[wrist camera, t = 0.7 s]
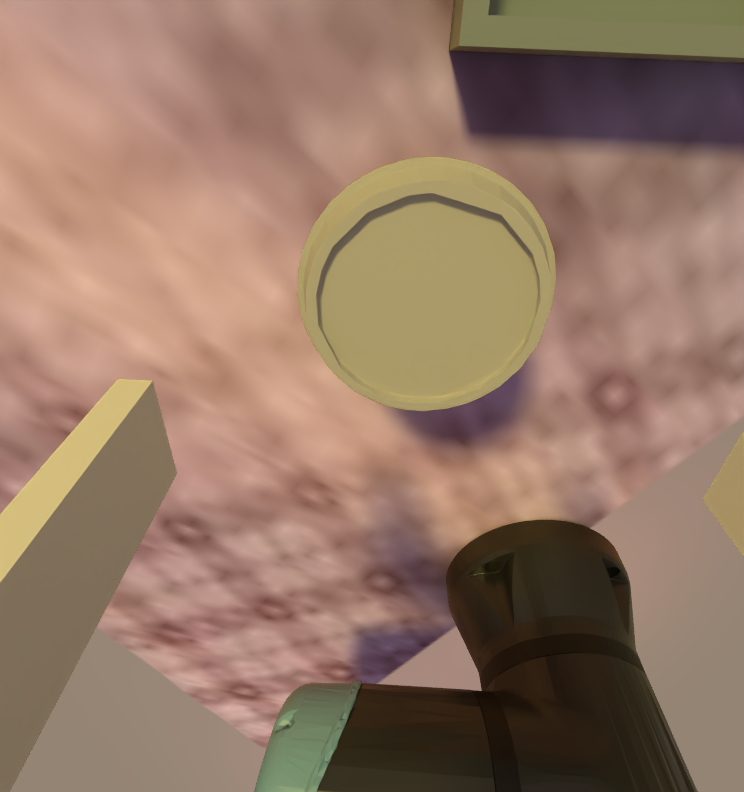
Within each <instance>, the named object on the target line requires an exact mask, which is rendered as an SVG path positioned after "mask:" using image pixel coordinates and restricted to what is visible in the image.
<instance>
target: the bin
mask: <svg viewBox="0 0 744 792" xmlns="http://www.w3.org/2000/svg"><path fill="white" fill-rule="evenodd" d="M449 51H467V52H490V53H514V54H537V55H561V56H584V57H608V58H632V59H655V60H679V61H702V62H726V63H744V0H454V4H453V14H452V24H451V34H450V44H449Z"/></svg>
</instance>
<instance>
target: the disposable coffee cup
mask: <svg viewBox="0 0 744 792" xmlns="http://www.w3.org/2000/svg"><path fill="white" fill-rule="evenodd" d="M555 284H556V271H555V255H554V250H553V247H552V244H551V241H550V238H549V235H548V232H547V229H546V226H545V224H544V222H543V221H542V219H541V218H540V216H539V214H538V213H537V211H536V210H535V208H534V206H533V205H532V203H531V202H530V201H529V200H528V199H527V198H526V197H525V196H524V195H523V194H522V193H521V192H520V191H519V190H518V189H517V188H516V187H515V186H514V185H513V184H512V183H510V182H509V181H507V180H506V179H504V178H502V177H501V176H499V175H498V174H496V173H494V172H493V171H491V170H489V169H486V168H484V167H481V166H479V165H476V164H473V163H471V162H467V161H462V160H457V159H452V158H448V157H420V158H410V159H406V160H403V161H399V162H396V163H393V164H389V165H386V166H383V167H379V168H377V169H375V170H373V171H372V172H370V173H368V174H366V175H365V176H363V177H361V178H359V179H358V180H356V181H354V182H353V183H351V184H350V185H349V186H348V187H347V188H346V189H344V190H343V191H342V192H341V193H340V194H339V195H337V196H336V197H335V198H334V199H333V200H332V201H331V202H330V203H329V204H328V206H327V207H326V208H325V210H324V211H323V213H322V214H321V215H320V217H319V218H318V220H317V221H316V223H315V224H314V226H313V228H312V230H311V232H310V235H309V237H308V239H307V241H306V244H305V246H304V248H303V252H302V257H301V261H300V265H299V270H298V292H297V295H298V301H299V306H300V312H301V317H302V320H303V323H304V326H305V328H306V331H307V334H308V336H309V337H310V339H311V341H312V343H313V345H314V346H315V348H316V350H317V351H318V353H319V354H320V355H321V357H322V358H323V360H324V361H325V363H326V365H327V366H328V367H329V368H330V369H331V370H332V371H333V373H334V374H335V375H336V376H337V377H338V378H339V379H340V380H341V381H343V382H344V383H345V384H346V385H348V386H349V387H350V388H351V389H352V390H354V391H355V392H357V393H359V394H361V395H363V396H365V397H367V398H369V399H371V400H373V401H376V402H378V403H380V404H383V405H385V406H390V407H394V408H398V409H404V410H415V411H429V410H439V409H448V408H452V407H455V406H459V405H463V404H466V403H469V402H471V401H474V400H476V399H478V398H481V397H482V396H484V395H486V394H488V393H489V392H491V391H493V390H495V389H496V388H498V387H500V386H501V385H502V384H503V383H504V382H505V381H507V380H508V379H509V378H510V377H511V376H512V375H513V374H515V373H516V372H517V371H518V370H519V369H520V368H521V367H522V365H523V364H524V363H525V361H526V360H527V358H528V357H529V356H530V354H531V353H532V351H533V350H534V349H535V347H536V346H537V345H538V343H539V340H540V337H541V335H542V332H543V329H544V326H545V323H546V321H547V318H548V315H549V313H550V310H551V308H552V302H553V296H554V290H555Z"/></svg>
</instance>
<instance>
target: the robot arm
mask: <svg viewBox="0 0 744 792" xmlns="http://www.w3.org/2000/svg"><path fill="white" fill-rule="evenodd" d="M176 474H177V472H176V468H175V464H174V460H173V456H172V452H171V449H170V445H169V441H168V437H167V433H166V429H165V426H164V422H163V418H162V414H161V410H160V406H159V403H158V399H157V395H156V391H155V387H154V383H153V381H148V380H127V379H118V380H117V381H116V382H115V383H114V384H113V385H112V386H111V388H110V389H109V390H108V391H107V392H106V393H105V395H104V396H103V397H102V398H101V399H100V400H99V401H98V403H97V404H96V405H95V406H94V407H93V408H92V409H91V411H90V412H89V413H88V414H87V415H86V416H85V418H84V419H83V420H82V421H81V422H80V423H79V424H78V426H77V427H76V428H75V429H74V430H73V431H72V432H71V434H70V435H69V436H68V437H67V438H66V439H65V441H64V442H63V443H62V444H61V445H60V446H59V447H58V449H57V450H56V451H55V452H54V453H53V454H52V455H51V457H50V458H49V459H48V460H47V461H46V462H45V464H44V465H43V466H42V467H41V468H40V469H39V470H38V472H37V473H36V474H35V475H34V476H33V477H32V478H31V480H30V481H29V482H28V483H27V484H26V485H25V486H24V488H23V489H22V490H21V491H20V492H19V493H18V495H17V496H16V497H15V498H14V499H13V500H12V501H11V503H10V504H9V505H8V506H7V507H6V508H5V509H4V511H3V512H2V513H1V514H0V792H10V790H11V788H12V786H13V784H14V783H15V781H16V779H17V777H18V775H19V773H20V771H21V769H22V767H23V766H24V764H25V762H26V760H27V758H28V756H29V754H30V752H31V750H32V748H33V746H34V745H35V743H36V741H37V739H38V737H39V735H40V733H41V731H42V729H43V727H44V725H45V724H46V722H47V720H48V718H49V716H50V714H51V712H52V710H53V708H54V706H55V705H56V703H57V701H58V699H59V697H60V695H61V693H62V691H63V689H64V687H65V685H66V684H67V682H68V680H69V678H70V676H71V674H72V672H73V670H74V668H75V666H76V665H77V663H78V661H79V659H80V657H81V655H82V653H83V651H84V649H85V647H86V645H87V644H88V642H89V640H90V638H91V636H92V634H93V632H94V630H95V628H96V627H97V625H98V623H99V621H100V619H101V617H102V615H103V613H104V611H105V609H106V607H107V606H108V604H109V602H110V600H111V598H112V596H113V594H114V592H115V590H116V588H117V587H118V585H119V583H120V581H121V579H122V577H123V575H124V573H125V571H126V569H127V567H128V566H129V564H130V562H131V560H132V558H133V556H134V554H135V552H136V550H137V548H138V547H139V545H140V543H141V541H142V539H143V537H144V535H145V533H146V531H147V529H148V528H149V526H150V524H151V522H152V520H153V518H154V516H155V514H156V512H157V510H158V508H159V507H160V505H161V503H162V501H163V499H164V497H165V495H166V493H167V491H168V489H169V488H170V486H171V484H172V482H173V480H174V478H175V476H176ZM703 500H704V502H705V503H706V505H707V506H708V508H709V509H710V510H711V512H712V513H713V515H714V516H715V517H716V519H717V520H718V522H719V523H720V524H721V526H722V527H723V529H724V530H725V531H726V533H727V534H728V536H729V537H730V538H731V540H732V541H733V543H734V544H735V545H736V547H737V548H738V550H739V551H740V552H741V554H742V555H743V557H744V431H743V433H742V434H741V436H740V438H739V439H738V441H737V443H736V444H735V446H734V448H733V449H732V451H731V453H730V454H729V456H728V458H727V460H726V461H725V463H724V465H723V466H722V468H721V470H720V471H719V473H718V474H717V476H716V478H715V480H714V481H713V483H712V485H711V486H710V488H709V490H708V491H707V493H706V495H705V496H704V498H703ZM446 585H447V594H448V603H449V608H450V612H451V615H452V617H453V619H454V621H455V623H456V626H457V628H458V630H459V632H460V634H461V636H462V638H463V640H464V642H465V644H466V646H467V649H468V651H469V653H470V655H471V657H472V659H473V661H474V663H475V665H476V667H477V669H478V672H479V676H480V682H481V688H482V691H473V690H463V689H447V688H431V687H415V686H414V687H413V686H398V685H382V684H366V683H362V681H359V680H355V681H353V682H352V683H309V684H305V685H302V686H300V687H299V688H297V689H296V690H295V691H294V692H292V693H291V695H290V696H289V697H288V698H287V700H286V701H285V703H284V704H283V706H282V708H281V710H280V712H279V715H278V717H277V720H276V722H275V725H274V727H273V730H272V733H271V736H270V739H269V742H268V745H267V749H266V752H265V755H264V758H263V762H262V765H261V769H260V773H259V776H258V779H257V783H256V787H255V791H254V792H698V791H697V789H696V787H695V785H694V783H693V780H692V778H691V776H690V773H689V771H688V769H687V766H686V764H685V762H684V760H683V757H682V755H681V753H680V751H679V748H678V746H677V744H676V741H675V739H674V737H673V735H672V732H671V730H670V728H669V725H668V723H667V721H666V719H665V716H664V714H663V712H662V709H661V708H660V705H659V703H658V701H657V698H656V696H655V693H654V691H653V689H652V687H651V684H650V682H649V680H648V678H647V675H646V673H645V671H644V669H643V666H642V664H641V662H640V659H639V657H638V654H637V651H636V647H635V635H634V623H633V612H632V600H631V589H630V582H629V578H628V574H627V572H626V570H625V568H624V565H623V563H622V561H621V559H620V557H619V555H618V553H617V551H616V549H615V548H614V546H613V545H612V544H611V543H610V542H609V541H608V540H607V539H606V538H605V537H604V536H602V535H601V534H599V533H597V532H596V531H594V530H592V529H590V528H587V527H585V526H582V525H578V524H574V523H570V522H564V521H555V520H535V521H525V522H519V523H514V524H510V525H506V526H503V527H500V528H497V529H494V530H492V531H489V532H487V533H485V534H483V535H481V536H480V537H478V538H476V539H475V540H473V541H472V542H470V543H469V544H468V545H466V546H465V547H464V548H463V549H462V550H461V551H460V552H459V553H458V554H457V555H456V557H455V558H454V559H453V561H452V563H451V565H450V567H449V569H448V572H447V577H446Z"/></svg>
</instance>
